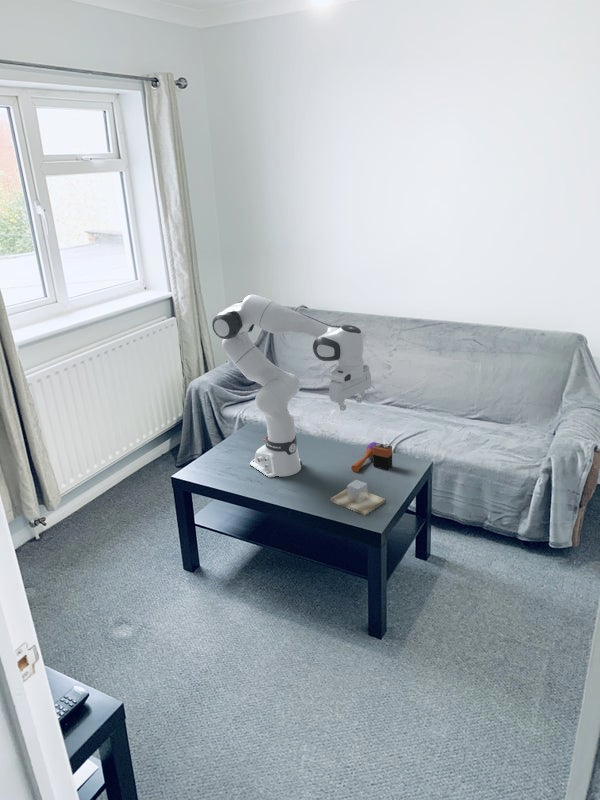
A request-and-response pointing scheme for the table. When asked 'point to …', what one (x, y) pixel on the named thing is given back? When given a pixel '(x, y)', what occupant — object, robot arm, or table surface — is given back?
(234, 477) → the table surface
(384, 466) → the battery
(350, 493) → the brushed metal cube
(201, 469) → the table surface
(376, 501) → the holder
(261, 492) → the table surface
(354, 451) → the table surface
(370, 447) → the kendama
